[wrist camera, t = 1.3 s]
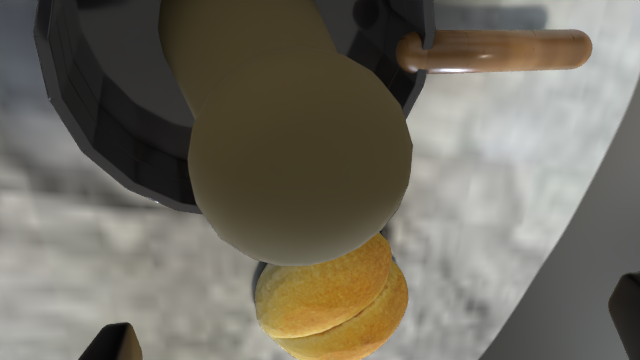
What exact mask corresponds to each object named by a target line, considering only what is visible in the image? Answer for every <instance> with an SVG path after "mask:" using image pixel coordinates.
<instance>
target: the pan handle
mask: <svg viewBox="0 0 640 360" xmlns="http://www.w3.org/2000/svg"><path fill="white" fill-rule="evenodd" d="M591 53H592V42H591V39H590V38H589V36H588V35H587V34H586V33H584V32H582V31H580V30H574V29H565V30H436V31H435V37H434V42H433V46H432V49H427V50H422V44H421V40H420V37H419V35H418V34H417V33H416V32H415V31H412V32H409V33H407V34H405V35H404V36H403V37H402V38H401V39H400V41H399V42H398V44H397V47H396V60H397V62H398V64H399V66H400V67H401V68H402V69H403V70H404V71H406V72H408V73H411V74H413V73H415V72H416V71H417V70H418V69H423V70H425V69H427V74H444V73H475V72H506V71H537V70H568V69H575V68H577V67H580V66H582V65H583V64H584V63H585V62H586V61H587V60H588V59H589V57H590V55H591Z"/></svg>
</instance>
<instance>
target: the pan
mask: <svg viewBox="0 0 640 360" xmlns="http://www.w3.org/2000/svg"><path fill="white" fill-rule="evenodd" d="M161 1H162V0H38V1H37V9H36V16H35V24H34V31H33V33H34V40H35V44H36V48H37V53H38V57H39V61H40V65H41V70H42V74H43V78H44V83H45V87H46V91H47V95H48V98H49V101H50V103H51V104H52V106H53V107H54V109H55V110H56V112H57V114H58V115H59V117H60V118H61V120H62V121H63V123H64V125H65V126H66V128H67V129H68V131H69V132H70V134H71V136H72V137H73V139H74V140H75V142H76V143H77V145H78V147H79V148H80V150H81V151H82V152H83V153H84V154H85V155H86V156H88V157H89V158H90V159H91V160H92V161H94V162H95V163H96V164H97V165H98V166H100V167H101V168H102V169H103V170H104V171H106V172H107V173H108V174H109V175H110V176H112V177H113V178H114V179H115V180H116V181H118V182H119V183H120V184H121V185H122V186H124V187H125V188H127V189H128V190H130V191H132V192H135V193H137V194H139V195H142V196H144V197H146V198H149V199H151V200H153V201H155V202H158V203H160V204H162V205H165V206H167V207H169V208H172V209H174V210H177V211H182V212H189V213H196V214H203V213H202V212H201V210H200V209H199V207H198V205H197V204H196V201H195V197H194V193H193V188H192V184H191V180H190V176H189V169H188V152H189V146H190V139H191V133H192V127H193V124H194V122H195V118H194V116H193V114H192V112H191V110H190V108H189V106H188V104H187V102H186V100H185V98H184V96H183V94H182V92H181V90H180V88H179V86H178V84H177V82H176V79H175V77H174V75H173V73H172V71H171V69H170V67H169V65H168V63H167V61H166V59H165V57H164V55H163V51H162V46H161V42H160V38H159V33H158V22H159V13H160V4H161ZM314 1H315V3H316V5H317V7H318V10H319V12H320V14H321V16H322V19H323V21H324V23H325V25H326V27H327V30H328V32H329V34H330V36H331V38H332V41H333V43H334V45H335V47H336V50H337V52H338V53H339V54H342V55H345V56H346V57H348V58H350V59H352V60H353V61H355V62H357V63H359V64H360V65H362V66H364V67H366V68H367V69H369V70H371V71H372V72H373V73H374V74H375V75H376V76H377V77H378V78H379V79H380V80H381V81H382V82H383V84H384V85H385V86H386V87H387V89H388V90H389V91H390V92H391V94H392V95H393V96H394V97H395V99H396V100H397V101H398V102H399V104H400V105H401V108H402V111H403V114H404V117H405V120H406V119H407V117H408V115H409V113H410V111H411V109H412V107H413V105H414V103H415V101H416V100H417V98H418V96H419V94H420V92H421V90H422V88H423V86H424V83H425V79H426V74H427V69H425V70H423V69H418V70H417V71H416V72H415V73H413V74H411V73H408V72H406V71H404V70H403V69H402V68H401V67H400V66H399V64H398V62H397V60H396V47H397V44H398V42H399V41H400V39H401V38H402V37H403V36H404V35H405V34H407V33H409V32H412V31H415V32H416V33H417V34H418V35H419V37H420V40H421V44H422V50H427V49H432V46H433V42H434V37H435V31H436V30H435V18H434V5H433V0H314Z"/></svg>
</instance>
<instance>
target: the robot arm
mask: <svg viewBox="0 0 640 360" xmlns="http://www.w3.org/2000/svg"><path fill="white" fill-rule="evenodd" d="M608 308H609V312H610V315H611V318H612V320H613V322H614V325H615V327H616V329H617V332H618V334H619V336H620V339H621V341H622V343H623V346H624V348H625V351H626V353H627V355H628V358H629V360H640V271H639V272H628V273H625V274H623V275H622V276H621V278H620V280H619V281H618V283H617V285H616V287H615V289H614V291H613V293H612V295H611V297H610V299H609V302H608ZM78 360H143V357H142V350H141V347H140V345H139V342H138V339H137V337H136V334H135V332H134V329H133V327H132V325H131V324H130V323H116V324H108V325H106V326H105V327H103V328H102V329H101V331H100V332H99V333H98V334H97V336H96V337H95V338H94V340H93V341H92V342H91V344H90V345H89V346H88V347H87V349H86V350H85V351H84V353H83V354H82V355H81V356H80V358H79V359H78Z"/></svg>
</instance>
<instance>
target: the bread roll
mask: <svg viewBox="0 0 640 360" xmlns="http://www.w3.org/2000/svg"><path fill="white" fill-rule="evenodd" d="M407 305H408V288H407V284H406V280H405V278H404V275H403V273H402V271H401V270H400V269H399V267H398V266H397V265H396V264H395V263H394V262H393V261H392V255H391V248H390V245H389V243H388V241H387V240H386V239H385V238H384V237H383V236H382V235H381V234H380V233H379V232H378V233H377V234H376V235H374V236H373V237H372V238H371V239H369V240H368V241H367V242H366V243H364V244H363V245H362V246H361V247H359V248H357V249H355V250H353V251H351V252H349V253H347V254H345V255H343V256H341V257H338V258H336V259H334V260H331V261H326V262H322V263H318V264H314V265H309V266H277V265H273V264H270V263H268V264H267V266H266V267H265V269H264V270H263V272H262V274H261V276H260V278H259V280H258V282H257V285H256V290H255V308H256V316H257V320H258V323H259V325H260V327H261V328H262V330H263V331H264V332H265V333H266V334H268V335H269V336H270V337H271V338H272V339H273V340H274V341H275V342H276V343H277V344H278V345H279V346H280V347H281V348H282V349H284V350H285V351H286V352H288V353H289V354H290V355H291V356H293V357H294V358H297V359H299V360H360V359H362V358H364V357H366V356H368V355H370V354H371V353H373V352H374V351H376V350H377V349H378V348H380V347H381V346H382V345H383V344H384V343H385V342H386V341H387V340H388V339H389V337H390V336H391V335H392V334H393V333H394V331H395V330H396V328H397V327H398V326H399V324H400V322H401V320H402V318H403V316H404V313H405V310H406V307H407Z"/></svg>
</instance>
